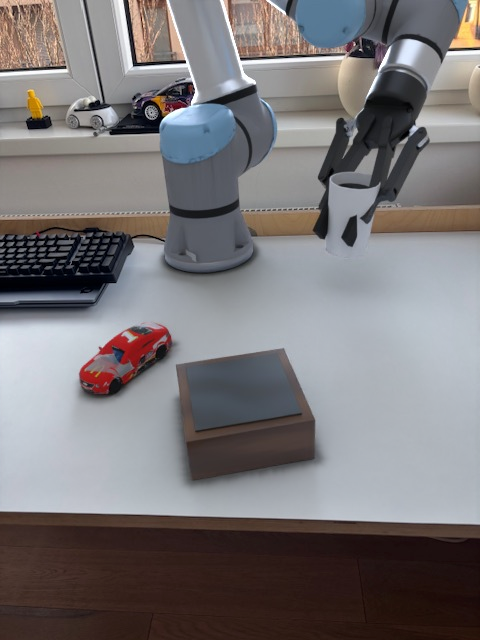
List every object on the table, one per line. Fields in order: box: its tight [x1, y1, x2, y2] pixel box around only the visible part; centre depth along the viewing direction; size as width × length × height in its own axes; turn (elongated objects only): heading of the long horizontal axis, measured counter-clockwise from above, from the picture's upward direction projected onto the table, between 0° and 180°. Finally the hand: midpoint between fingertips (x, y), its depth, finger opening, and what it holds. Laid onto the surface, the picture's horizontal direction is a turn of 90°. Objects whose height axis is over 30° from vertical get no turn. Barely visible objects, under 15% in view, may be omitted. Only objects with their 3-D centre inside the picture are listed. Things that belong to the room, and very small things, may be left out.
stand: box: [175, 347, 316, 481], centre depth 55 cm, size 12×12×5 cm
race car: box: [78, 321, 173, 395], centre depth 66 cm, size 13×5×4 cm, turn 143°
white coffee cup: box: [325, 171, 380, 259], centre depth 74 cm, size 7×7×10 cm
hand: (332, 238), depth 73 cm, fingers closed on white coffee cup, 4 cm apart
